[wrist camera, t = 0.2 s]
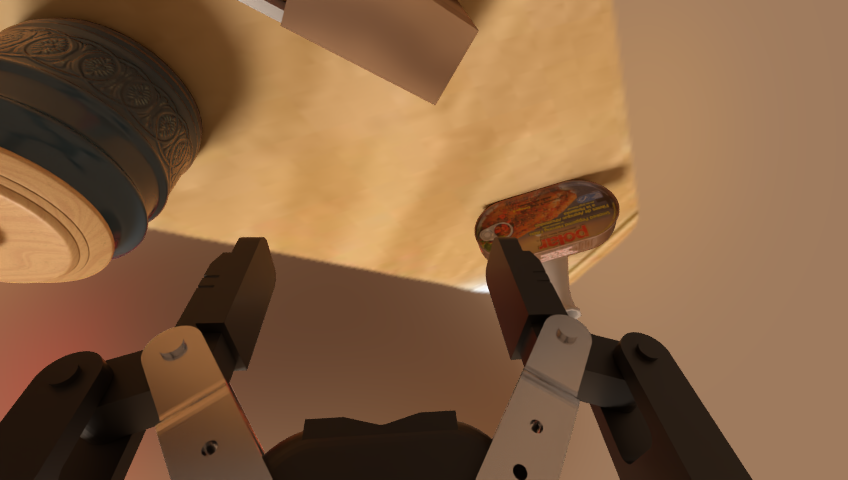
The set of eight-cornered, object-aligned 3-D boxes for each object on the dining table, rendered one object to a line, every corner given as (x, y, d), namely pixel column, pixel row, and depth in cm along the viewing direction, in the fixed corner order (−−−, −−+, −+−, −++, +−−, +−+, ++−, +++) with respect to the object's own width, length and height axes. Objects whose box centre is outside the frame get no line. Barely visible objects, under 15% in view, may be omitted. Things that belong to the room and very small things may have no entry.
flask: (575, 252, 49) (608, 313, 42) (531, 277, 52) (556, 337, 45) (550, 228, 45) (582, 291, 38) (504, 257, 48) (526, 320, 41)
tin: (597, 170, 39) (636, 221, 33) (596, 191, 41) (632, 242, 35) (467, 209, 41) (482, 263, 35) (472, 227, 43) (488, 281, 37)
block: (323, -92, 22) (306, -83, 16) (456, -2, 26) (478, 30, 20) (301, -7, 25) (280, 25, 19) (423, 62, 29) (435, 105, 23)
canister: (44, 148, 31) (-175, 324, 18) (-26, -22, 22) (-507, 95, 10) (209, 183, 35) (121, 345, 23) (203, 52, 27) (58, 196, 14)
